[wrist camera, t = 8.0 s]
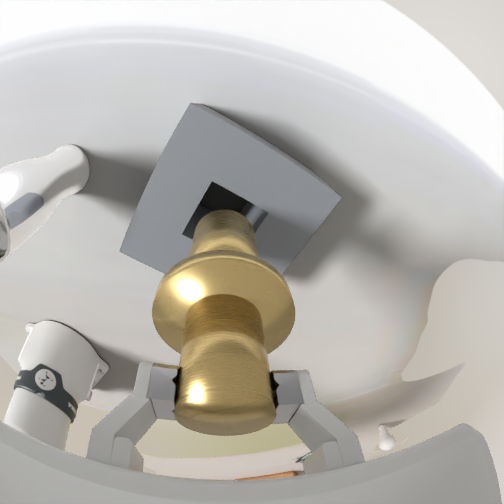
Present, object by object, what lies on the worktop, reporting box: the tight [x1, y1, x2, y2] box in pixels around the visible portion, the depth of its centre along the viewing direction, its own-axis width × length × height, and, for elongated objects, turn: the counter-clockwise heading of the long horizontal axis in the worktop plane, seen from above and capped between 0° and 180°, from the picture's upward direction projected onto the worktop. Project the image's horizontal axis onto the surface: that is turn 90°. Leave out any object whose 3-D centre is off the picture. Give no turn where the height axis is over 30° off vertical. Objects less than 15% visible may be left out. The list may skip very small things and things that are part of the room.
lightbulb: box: [378, 424, 395, 450], centre depth 69 cm, size 6×6×11 cm
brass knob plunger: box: [152, 209, 295, 436], centre depth 14 cm, size 7×7×14 cm
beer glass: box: [0, 144, 89, 262], centre depth 19 cm, size 7×7×15 cm
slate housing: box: [119, 103, 342, 275], centre depth 25 cm, size 14×14×8 cm
